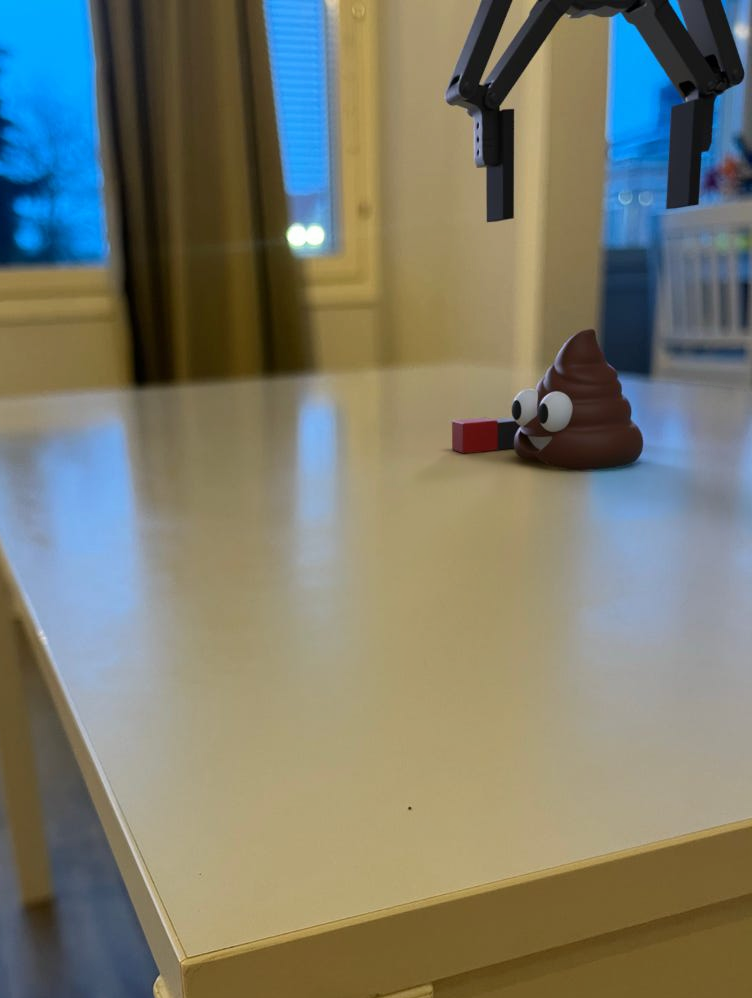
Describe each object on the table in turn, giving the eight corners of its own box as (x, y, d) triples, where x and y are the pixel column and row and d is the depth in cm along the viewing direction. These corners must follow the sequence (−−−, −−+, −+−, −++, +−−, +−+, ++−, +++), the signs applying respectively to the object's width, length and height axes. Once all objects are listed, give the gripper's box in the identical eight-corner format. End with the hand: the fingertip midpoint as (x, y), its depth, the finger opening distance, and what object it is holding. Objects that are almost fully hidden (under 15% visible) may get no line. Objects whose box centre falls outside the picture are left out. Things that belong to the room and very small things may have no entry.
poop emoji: (669, 462, 70) (678, 324, 67) (570, 477, 67) (575, 334, 64) (577, 446, 79) (582, 324, 76) (486, 459, 76) (487, 332, 73)
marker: (596, 435, 84) (597, 406, 83) (611, 439, 82) (612, 409, 81) (451, 449, 82) (451, 420, 81) (462, 453, 79) (462, 423, 79)
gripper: (744, -137, 66) (721, 206, 74) (390, -134, 62) (401, 230, 69) (825, -188, 59) (791, 196, 67) (433, -189, 55) (440, 221, 62)
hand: (592, 214), depth 68 cm, fingers open, 13 cm apart
